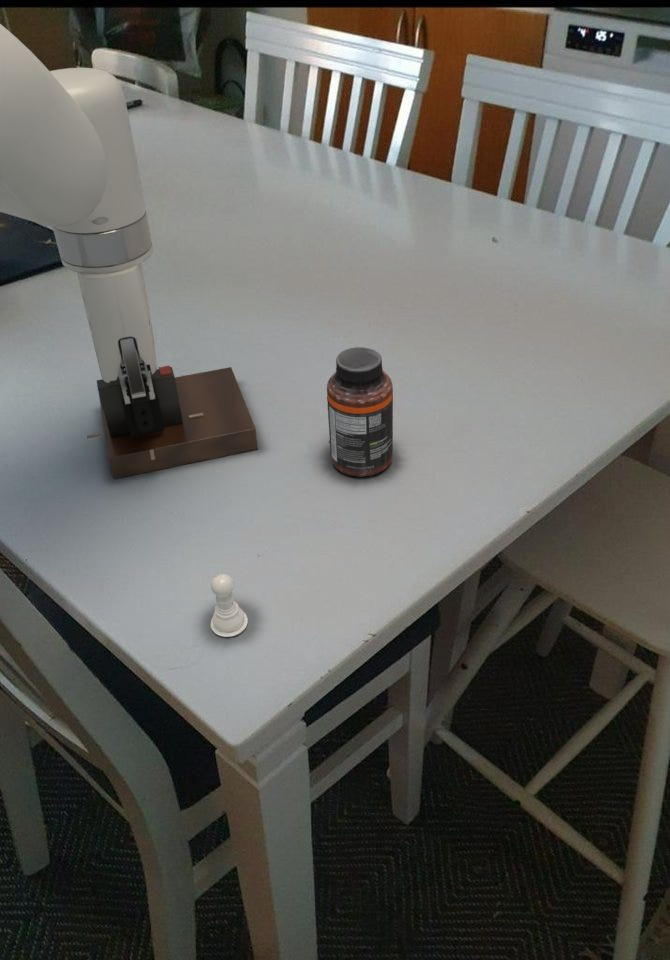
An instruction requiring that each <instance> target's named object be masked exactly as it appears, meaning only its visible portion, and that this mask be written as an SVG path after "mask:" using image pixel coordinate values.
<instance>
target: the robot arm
mask: <svg viewBox="0 0 670 960" xmlns="http://www.w3.org/2000/svg"><path fill="white" fill-rule="evenodd" d="M0 213H2V214H6V215H9V216H13V217H15V218H19V219H23V220H26V221H29V222H32V223H36V224H40V225H44V226H50V227H52V230H53V234H54V238H55V241H56V245H57V250H58V253H59V257H60V261H61V263H62V265H63V266H64V267H65V268H66V269H67V270H70V271H73V272H74V273H75V272H76V273H77V278H78V279H77V280H78V283H79V289H80V293H81V298H82V303H83V307H84V310H85V313H86V314H85V315H86V320H87V323H88V327H89V332H90V335H91V338H92V343H93V348H94V352H95V355H96V359H97V363H98V368H99V372H100V377H101V379H103V380H104V381H105V382H107V383H110V381H114V380H117V377H119V379H120V384H121V388H122V392H123V396H124V399H123V400H122V403H123V407H124V411H125V416H126V420H127V424H128V428H129V432H130V436H132V437H139V436H144V435H149V434H154V433H159V432H162V431H163V430H164V424H163V420H162V415H161V410H160V405H159V400H158V396H157V393H155V394H154V389H153V384H152V380H151V375H150V372H151V374H152V375H153V374H154V373H155V371H156V370H157V369H158V365H157V355H156V346H155V338H154V330H153V322H152V316H151V315H152V314H151V309H150V304H149V299H148V293H147V287H146V281H145V276H144V272H143V271H144V270H143V266H142V263H144V262H146V261H147V260H148V259H149V258H150V257H151V256H152V255H153V252H154V245H153V241H152V236H151V230H150V225H149V219H148V215H147V213H148V212H147V208H146V203H145V197H144V193H143V187H142V182H141V176H140V170H139V165H138V161H137V155H136V149H135V144H134V138H133V132H132V127H131V123H130V117H129V111H128V106H127V101H126V97H125V93H124V90H123V87H122V84H121V83H120V81H119V80H118V78H116V76H114V75H113V74H111V73H110V72H109V71H106V70H103V69H98V68H94V67H68V68H59V69H54V70H49V69H48V67H46V65H45V64H43V62H42V61H41V60H40V59H39V58H38V57H37V56H36V55H35V54H34V53H33V52H32V50H30V49H29V48H28V47H27V46H26V45H25V44H24V43H23V42H21V40H20V39H19V38H18V37H17V36H16V35H14V34H13V33H12V32H11V31H9V30H8V29H7V28H6V27H5V26H3V25H2V23H0ZM143 376H145V379H146V382H144V383H143V379H142V377H143ZM126 379H128V382H129V385H128V386H127V383H126Z"/></svg>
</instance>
